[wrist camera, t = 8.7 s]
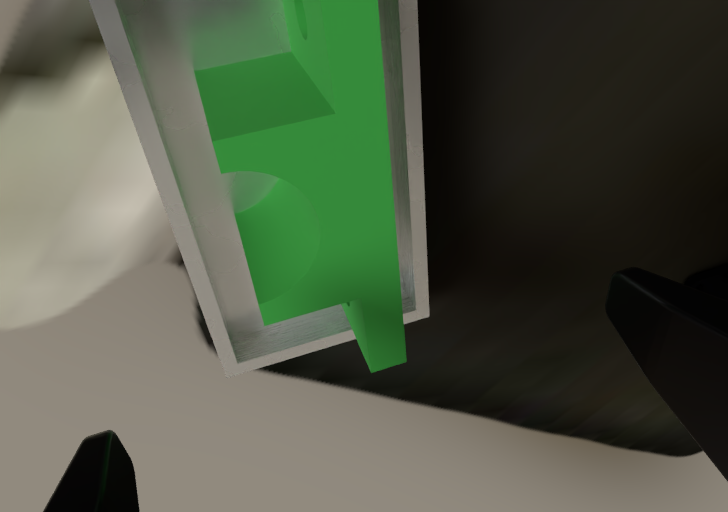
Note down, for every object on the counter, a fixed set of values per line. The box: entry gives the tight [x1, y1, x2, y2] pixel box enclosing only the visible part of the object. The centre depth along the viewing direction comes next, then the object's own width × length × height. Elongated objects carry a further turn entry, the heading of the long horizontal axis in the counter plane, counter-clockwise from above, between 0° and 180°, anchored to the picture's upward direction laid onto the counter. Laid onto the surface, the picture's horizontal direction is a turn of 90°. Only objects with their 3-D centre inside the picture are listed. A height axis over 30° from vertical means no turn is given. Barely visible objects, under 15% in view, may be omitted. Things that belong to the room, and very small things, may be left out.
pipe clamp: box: [194, 0, 407, 373], centre depth 15 cm, size 11×4×5 cm, turn 6°
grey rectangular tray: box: [89, 0, 429, 378], centre depth 17 cm, size 15×8×2 cm, turn 6°
